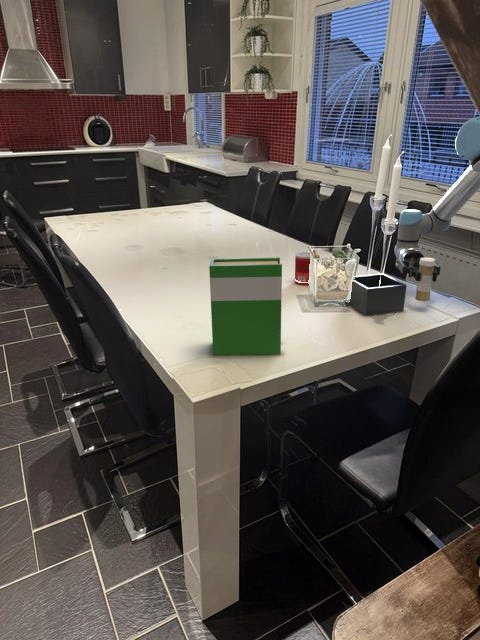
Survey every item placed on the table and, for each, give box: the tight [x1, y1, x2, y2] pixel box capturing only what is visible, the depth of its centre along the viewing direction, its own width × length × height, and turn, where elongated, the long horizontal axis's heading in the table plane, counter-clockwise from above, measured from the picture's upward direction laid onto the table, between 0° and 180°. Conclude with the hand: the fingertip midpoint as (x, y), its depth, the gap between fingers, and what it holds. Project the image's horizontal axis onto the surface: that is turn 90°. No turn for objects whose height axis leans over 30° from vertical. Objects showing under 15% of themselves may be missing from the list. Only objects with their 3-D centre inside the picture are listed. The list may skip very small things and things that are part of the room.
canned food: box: [294, 251, 311, 286], centre depth 178 cm, size 8×8×11 cm
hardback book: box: [208, 256, 283, 356], centre depth 121 cm, size 18×7×24 cm, turn 90°
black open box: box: [347, 273, 408, 317], centre depth 152 cm, size 14×14×9 cm
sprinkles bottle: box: [414, 256, 436, 302], centre depth 147 cm, size 5×5×13 cm
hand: (426, 277), depth 145 cm, fingers closed on sprinkles bottle, 4 cm apart
